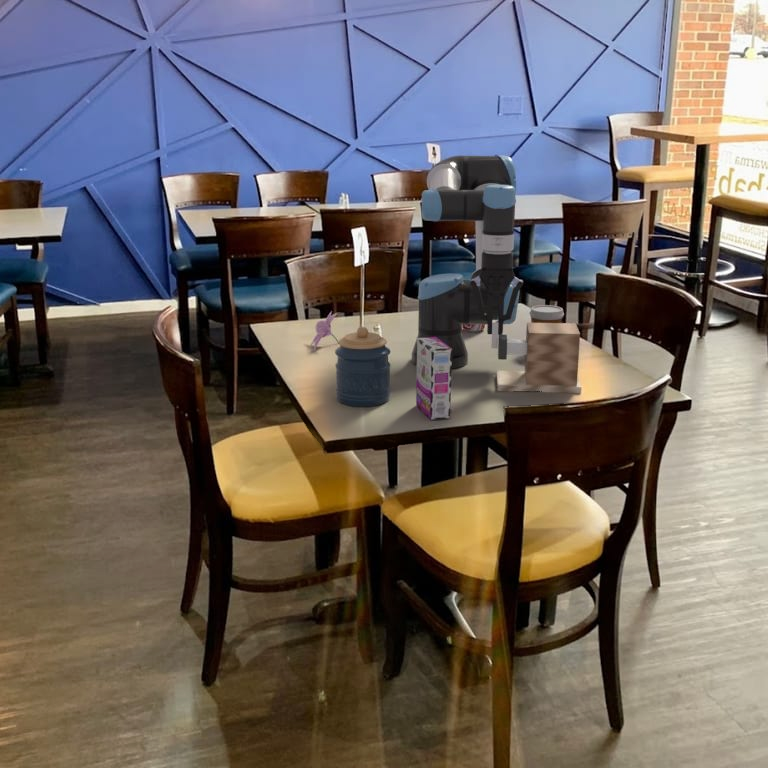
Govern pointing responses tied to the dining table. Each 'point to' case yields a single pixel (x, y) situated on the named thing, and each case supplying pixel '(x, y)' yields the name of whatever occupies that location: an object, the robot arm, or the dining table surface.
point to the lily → (323, 329)
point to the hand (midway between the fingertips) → (494, 346)
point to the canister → (362, 369)
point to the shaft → (511, 347)
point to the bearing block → (547, 361)
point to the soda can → (473, 327)
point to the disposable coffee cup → (546, 314)
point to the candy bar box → (433, 378)
